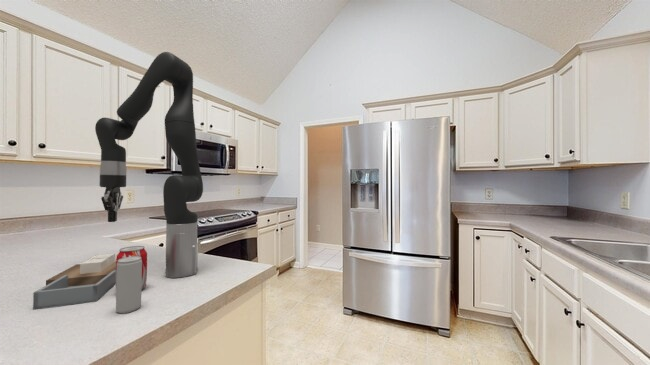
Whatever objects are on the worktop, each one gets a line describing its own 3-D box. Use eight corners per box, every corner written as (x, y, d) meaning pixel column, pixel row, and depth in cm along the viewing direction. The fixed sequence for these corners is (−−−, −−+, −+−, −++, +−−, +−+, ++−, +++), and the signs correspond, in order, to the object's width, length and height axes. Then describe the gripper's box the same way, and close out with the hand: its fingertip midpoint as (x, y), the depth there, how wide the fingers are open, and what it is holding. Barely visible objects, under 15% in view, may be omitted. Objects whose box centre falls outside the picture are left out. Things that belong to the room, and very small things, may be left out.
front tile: (107, 267, 83) (107, 258, 84) (100, 272, 79) (101, 262, 79) (88, 269, 82) (88, 259, 82) (79, 273, 77) (80, 263, 77)
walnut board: (133, 268, 92) (133, 259, 92) (116, 283, 77) (116, 273, 77) (76, 273, 86) (76, 264, 86) (45, 291, 71) (45, 280, 71)
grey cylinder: (125, 305, 63) (126, 256, 64) (145, 304, 64) (146, 256, 64) (110, 314, 59) (111, 262, 59) (132, 313, 59) (133, 261, 59)
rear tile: (114, 262, 89) (114, 253, 89) (108, 266, 84) (108, 257, 84) (96, 263, 87) (96, 254, 87) (89, 268, 83) (89, 258, 83)
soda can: (112, 298, 67) (113, 252, 68) (118, 288, 74) (119, 246, 74) (144, 293, 71) (145, 249, 71) (148, 284, 77) (149, 244, 77)
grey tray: (116, 283, 77) (116, 270, 77) (96, 301, 65) (96, 285, 65) (64, 289, 73) (64, 275, 73) (33, 309, 61) (33, 292, 61)
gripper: (119, 173, 89) (118, 223, 88) (131, 175, 101) (130, 219, 101) (91, 173, 86) (90, 224, 85) (108, 174, 98) (107, 220, 98)
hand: (112, 221), depth 93 cm, fingers closed
